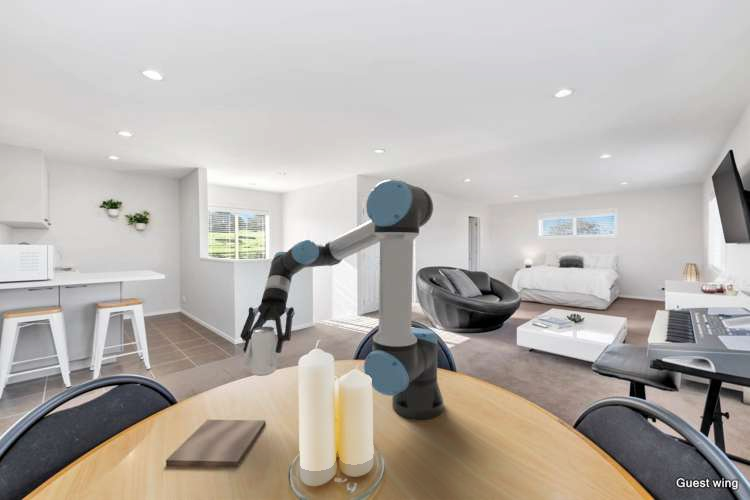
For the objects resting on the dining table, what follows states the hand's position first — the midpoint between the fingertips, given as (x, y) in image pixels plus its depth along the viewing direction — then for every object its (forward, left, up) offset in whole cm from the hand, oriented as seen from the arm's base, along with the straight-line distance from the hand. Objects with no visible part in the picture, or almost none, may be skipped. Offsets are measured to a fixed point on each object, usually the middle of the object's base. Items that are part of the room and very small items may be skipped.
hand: (259, 363), depth 85 cm
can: (0, -4, -4) cm, 5 cm away
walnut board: (+6, +9, -16) cm, 20 cm away
